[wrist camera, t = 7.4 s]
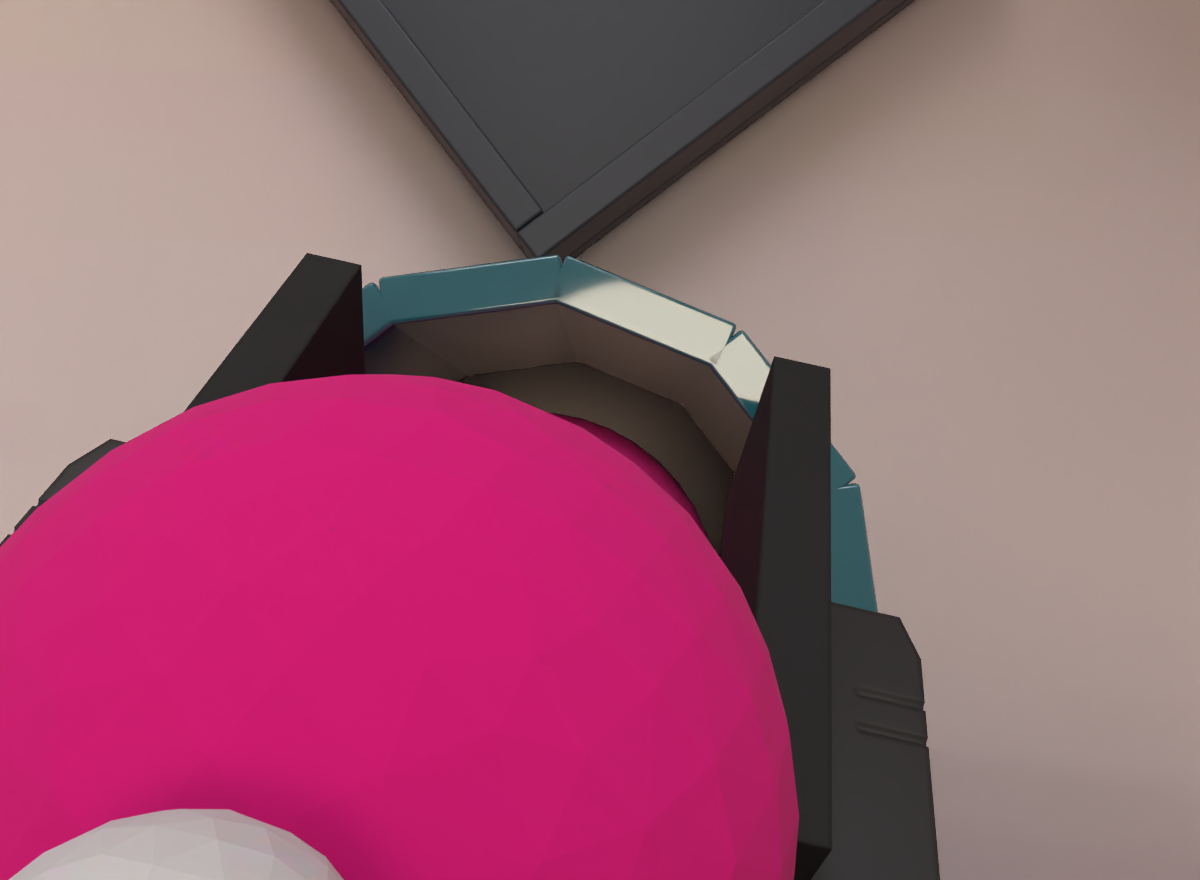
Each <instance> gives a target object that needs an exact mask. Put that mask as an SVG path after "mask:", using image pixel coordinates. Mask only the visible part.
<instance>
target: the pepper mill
mask: <svg viewBox="0 0 1200 880" xmlns="http://www.w3.org/2000/svg"><path fill="white" fill-rule="evenodd" d="M798 825H799V811H798V802H797V794H796V785H795V777H794V768H793V760H792V751H791V743H790V734H789V728H788V723H787V718H786V714H785V710H784V706H783V702H782V699H781V695H780V691H779V687H778V684H777V680H776V676H775V672H774V668H773V665H772V661H771V657H770V653H769V650H768V647H767V645H766V643H765V641H764V638H763V636H762V634H761V632H760V629H759V627H758V625H757V623H756V621H755V618H754V616H753V614H752V612H751V609H750V607H749V605H748V603H747V600H746V598H745V596H744V594H743V592H742V589H741V587H740V586H739V584H738V583H737V581H736V580H735V578H734V577H733V576H732V574H731V573H730V571H729V570H728V568H727V567H726V566H725V564H724V563H723V561H722V560H721V558H720V557H719V555H718V554H717V553H716V551H715V550H714V548H713V547H712V545H711V544H710V543H709V540H708V536H707V534H706V531H705V529H704V527H703V525H702V522H701V520H700V518H699V516H698V514H697V511H696V509H695V507H694V506H693V504H692V503H691V501H690V500H689V498H688V497H687V495H686V494H685V492H684V491H683V489H682V488H681V486H680V485H679V483H678V482H677V481H676V480H675V479H674V478H673V477H672V476H671V474H670V473H669V472H668V471H667V470H666V469H665V468H664V467H663V466H662V465H661V464H660V463H659V462H658V461H657V460H656V459H655V458H654V457H652V456H651V455H650V454H649V453H647V452H646V451H645V450H643V449H642V448H641V447H640V446H638V445H637V444H636V443H634V442H633V441H631V440H629V439H627V438H625V437H624V436H622V435H620V434H618V433H616V432H615V431H613V430H611V429H609V428H606V427H604V426H601V425H598V424H595V423H593V422H590V421H587V420H584V419H581V418H576V417H571V416H566V415H561V414H556V413H547V412H545V411H543V410H540V409H538V408H536V407H533V406H531V405H529V404H526V403H524V402H522V401H519V400H517V399H515V398H512V397H510V396H508V395H506V394H503V393H501V392H499V391H496V390H492V389H488V388H483V387H478V386H474V385H469V384H464V383H460V382H455V381H451V380H446V379H441V378H437V377H428V376H411V375H395V374H356V375H341V376H332V377H323V378H314V379H305V380H296V381H288V382H279V383H270V384H267V385H263V386H260V387H257V388H254V389H250V390H247V391H244V392H241V393H237V394H234V395H231V396H228V397H224V398H221V399H218V400H215V401H211V402H208V403H205V404H202V405H198V406H195V407H193V408H191V409H189V410H187V411H185V412H183V413H181V414H179V415H177V416H176V417H174V418H172V419H170V420H168V421H166V422H164V423H162V424H160V425H159V426H157V427H155V428H153V429H151V430H149V431H147V432H145V433H143V434H141V435H140V436H138V437H136V438H134V439H132V440H130V441H128V442H126V443H124V444H123V445H121V446H119V447H117V448H115V449H113V450H111V451H110V452H109V453H107V454H106V455H105V456H103V457H102V458H101V459H100V460H98V461H97V462H96V463H94V464H93V465H92V466H91V467H89V468H88V469H87V470H85V471H84V472H83V473H82V474H80V475H79V476H78V477H77V478H75V479H74V480H73V481H71V482H70V483H69V484H68V485H66V486H65V487H64V488H62V489H61V490H60V491H59V492H57V493H56V494H55V495H54V496H52V497H51V498H50V499H48V500H47V501H46V502H45V503H43V504H42V505H41V506H39V507H38V508H37V509H36V510H35V511H34V512H33V513H32V514H31V515H30V516H29V517H28V518H27V519H26V520H25V522H24V523H23V524H22V525H21V526H20V527H19V528H18V529H17V530H16V531H15V532H14V533H13V534H12V535H11V536H10V537H9V538H8V539H7V540H6V541H5V543H4V544H3V545H2V546H1V547H0V880H794V873H795V861H796V849H797V837H798Z"/></svg>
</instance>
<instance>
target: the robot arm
mask: <svg viewBox="0 0 1200 880" xmlns="http://www.w3.org/2000/svg"><path fill="white" fill-rule="evenodd" d="M356 374H365V355H364V328H363V300H362V272H361V265H359V264H354V263H349V262H345V261H340V260H336V259H331V258H327V257H322V256H318V255H313V254H309V253H307V254H306V255H305V256H304V258H303V259H302V260H301V262H300V263H299V264H298V265H297V267H296V268H295V269H294V271H293V272H292V273H291V275H290V276H289V277H288V278H287V280H286V281H285V282H284V284H283V285H282V286H281V287H280V289H279V290H278V291H277V293H276V294H275V295H274V296H273V298H272V299H271V300H270V302H269V303H268V304H267V305H266V307H265V308H264V309H263V311H262V312H261V313H260V315H259V316H258V317H257V318H256V320H255V321H254V322H253V324H252V325H251V326H250V327H249V329H248V330H247V331H246V333H245V334H244V335H243V336H242V338H241V339H240V340H239V342H238V343H237V344H236V345H235V347H234V348H233V349H232V351H231V352H230V353H229V355H228V356H227V357H226V358H225V360H224V361H223V362H222V364H221V365H220V366H219V367H218V369H217V370H216V371H215V373H214V374H213V375H212V376H211V378H210V379H209V380H208V382H207V383H206V384H205V385H204V387H203V388H202V389H201V391H200V392H199V393H198V394H197V396H196V397H195V398H194V400H193V401H192V402H191V404H190V405H189V406H188V407H187V409H186V410H185V411H187V410H189V409H191V408H193V407H195V406H198V405H202V404H205V403H208V402H211V401H215V400H218V399H221V398H224V397H228V396H231V395H234V394H237V393H241V392H244V391H247V390H250V389H254V388H257V387H260V386H263V385H267V384H270V383H279V382H288V381H296V380H305V379H314V378H323V377H332V376H341V375H356ZM185 411H184V412H185ZM124 443H126V442H121V441H117V440H113V439H110V440H108V441H107V442H105V443H103V444H102V445H100V446H98V447H97V448H95V449H93V450H92V451H90V452H89V453H87V454H85V455H84V456H82V457H80V458H79V459H77V460H75V461H74V462H72V463H71V464H69V465H68V466H67V467H66V468H65V469H64V470H63V471H62V473H61V474H60V475H59V476H58V477H57V478H56V480H55V481H54V482H53V483H52V484H51V485H50V487H49V488H48V489H47V490H46V491H45V492H44V494H43V495H42V496H41V497H40V498H39V503H38V505H37V506H36V507H35V506H32V507H31V509H30V510H29V511H28V512H27V513H26V514H25V516H24V517H23V518H22V519H21V520H20V521H19V523H18V524H17V525H16V526H15V530H14V532H15V531H16V530H17V529H18V528H19V527H20V526H21V525H22V524H23V523H24V522H25V520H26V519H27V518H28V517H29V516H30V515H31V514H32V513H33V512H34V511H35V510H36V509H37V508H38V507H39V506H41V505H42V504H43V503H45V502H46V501H47V500H48V499H50V498H51V497H52V496H54V495H55V494H56V493H57V492H59V491H60V490H61V489H62V488H64V487H65V486H66V485H68V484H69V483H70V482H71V481H73V480H74V479H75V478H77V477H78V476H79V475H80V474H82V473H83V472H84V471H85V470H87V469H88V468H89V467H91V466H92V465H93V464H94V463H96V462H97V461H98V460H100V459H101V458H102V457H103V456H105V455H106V454H107V453H109V452H110V451H111V450H113V449H115V448H117V447H119V446H121V445H123V444H124ZM10 536H11V535H9V534H8V535H7V537H6V538H5V539H4V540H3V541H2V542H1V544H0V547H1V546H2V545H3V544H4V543H5V541H6V540H7V539H8V538H9V537H10ZM721 560H722V561H723V563H724V564H725V566H726V567H727V568H728V570H729V571H730V573H731V574H732V576H733V577H734V578H735V580H736V581H737V583H738V584H739V586H740V587H741V589H742V592H743V594H744V596H745V598H746V600H747V603H748V605H749V607H750V609H751V612H752V614H753V616H754V618H755V621H756V623H757V625H758V627H759V629H760V632H761V634H762V636H763V638H764V641H765V643H766V645H767V647H768V650H769V653H770V657H771V661H772V665H773V668H774V672H775V676H776V680H777V684H778V687H779V691H780V695H781V699H782V702H783V706H784V710H785V714H786V718H787V723H788V728H789V734H790V743H791V751H792V760H793V768H794V777H795V785H796V794H797V802H798V811H799V825H798V837H797V849H796V861H795V873H794V880H940V874H939V863H938V851H937V840H936V828H935V817H934V805H933V794H932V782H931V771H930V759H929V748H928V747H926V741H927V739H928V736H927V725H926V713H925V711H923V706H924V703H925V702H924V690H923V679H922V667H921V659H920V657H919V655H918V653H917V651H916V649H915V647H914V645H913V643H912V641H911V639H910V637H909V635H908V633H907V631H906V629H905V627H904V625H903V623H902V621H901V620H900V618H899V617H895V616H890V615H886V614H882V613H877V612H873V611H868V610H864V609H860V608H855V607H851V606H847V605H842V604H838V603H834V602H831V412H830V369H829V368H825V367H820V366H816V365H811V364H807V363H802V362H798V361H793V360H789V359H784V358H779V357H775V356H774V359H773V362H772V365H771V368H770V371H769V374H768V377H767V379H766V382H765V385H764V388H763V391H762V394H761V397H760V400H759V403H758V406H757V409H756V412H755V415H754V418H753V421H752V424H751V427H750V430H749V433H748V436H747V439H746V442H745V445H744V448H743V451H742V454H741V457H740V460H739V463H738V466H737V469H736V472H735V475H734V478H733V481H732V484H731V487H730V489H729V492H728V495H727V503H726V512H725V521H724V530H723V540H722V549H721Z"/></svg>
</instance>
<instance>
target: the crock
mask: <svg viewBox="0 0 1200 880" xmlns="http://www.w3.org/2000/svg"><path fill="white" fill-rule="evenodd" d="M362 300H363V328H364V355H365V374H395V375H411V376H428V377H437V378H441V379H446V380H451V381H455V382H459V381H461V380H462V379H463V378H465V377H466V376H467V375H475V374H482V373H490V372H498V371H506V370H513V369H521V368H529V367H537V366H544V365H552V364H560V363H567V362H575V361H579V362H581V363H584V364H586V365H588V366H591V367H593V368H596V369H598V370H600V371H603V372H605V373H608V374H610V375H612V376H615V377H617V378H620V379H622V380H625V381H627V382H629V383H632V384H634V385H637V386H639V387H641V388H644V389H646V390H649V391H651V392H653V393H656V394H658V395H661V396H663V397H665V398H668V399H670V400H673V401H675V402H677V403H680V404H682V405H683V407H684V408H685V409H686V411H687V412H688V413H689V415H690V416H691V417H692V418H693V420H694V421H695V422H696V424H697V425H698V426H699V428H700V429H701V430H702V431H703V433H704V434H705V435H706V437H707V438H708V439H709V441H710V442H711V443H712V444H713V446H714V447H715V448H716V450H717V451H718V452H719V454H720V455H721V456H722V458H723V459H724V460H725V461H726V463H727V464H728V465H729V467H730V468H731V469H732V471H733V472H734V473H735V472H736V469H737V466H738V463H739V460H740V457H741V454H742V451H743V448H744V445H745V442H746V439H747V436H748V433H749V430H750V427H751V424H752V421H753V418H754V415H755V412H756V409H757V406H758V403H759V400H760V397H761V394H762V391H763V388H764V385H765V382H766V379H767V377H768V374H769V371H770V368H771V365H770V364H769V362H768V361H767V360H766V358H765V357H764V356H763V355H762V353H761V352H760V351H759V349H758V348H757V347H756V346H755V344H754V343H753V342H752V340H751V339H750V338H749V336H748V335H747V334H746V333H745V332H744V331H743V330H742V331H739V332H738V333H736V334H735V335H734V336H733V334H734V332H735V329H736V325H735V324H734V323H732V322H729V321H727V320H724V319H722V318H720V317H717V316H715V315H712V314H710V313H707V312H705V311H703V310H700V309H698V308H695V307H693V306H690V305H688V304H686V303H683V302H681V301H678V300H676V299H673V298H671V297H668V296H666V295H664V294H661V293H659V292H656V291H654V290H651V289H649V288H647V287H644V286H642V285H639V284H637V283H634V282H632V281H629V280H627V279H625V278H622V277H620V276H617V275H615V274H612V273H610V272H608V271H605V270H603V269H600V268H598V267H595V266H593V265H591V264H588V263H586V262H583V261H581V260H578V259H576V258H573V257H571V256H567V257H566V258H565V259H564V262H563V264H562V261H561V258H560V256H559V255H549V256H541V257H534V258H526V259H519V260H511V261H503V262H496V263H488V264H481V265H473V266H465V267H458V268H450V269H443V270H435V271H427V272H420V273H412V274H405V275H397V276H389V277H383V278H381V279H380V280H379V287H378V286H377V285H376V284H374V283H369V284H367V285H366V286H365V287H363V288H362ZM855 477H856V476H855V473H854V472H853V470H852V469H851V468H850V467H849V465H848V464H847V463H846V461H845V460H844V459H843V458H842V456H841V455H840V454H839V452H838V451H837V450H836V449H835V447H834V446H833V445H832V443H831V602H834V603H838V604H842V605H847V606H851V607H855V608H860V609H864V610H868V611H873V612H877V613H878V610H877V603H876V595H875V588H874V581H873V574H872V567H871V560H870V552H869V545H868V538H867V531H866V524H865V517H864V510H863V502H862V495H861V488H860V486H859V484H856V483H850V482H851V481H852V480H854V479H855Z"/></svg>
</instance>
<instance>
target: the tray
mask: <svg viewBox="0 0 1200 880" xmlns="http://www.w3.org/2000/svg"><path fill="white" fill-rule="evenodd" d="M330 1H331V2H332V3H333V5H334V6H335V7H336V9H337V10H338V11H339V12H340V14H341V15H342V16H343V18H344V19H345V20H346V22H347V23H348V24H349V26H350V27H351V28H352V29H353V31H354V32H355V33H356V35H357V36H358V37H359V39H360V40H361V41H362V43H363V44H364V45H365V46H366V48H367V49H368V50H369V52H370V53H371V54H372V56H373V57H374V58H375V59H376V61H377V62H378V63H379V65H380V66H381V67H382V69H383V70H384V71H385V73H386V74H387V75H388V76H389V78H390V79H391V80H392V82H393V83H394V84H395V86H396V87H397V88H398V90H399V91H400V92H401V93H402V95H403V96H404V97H405V99H406V100H407V101H408V103H409V104H410V105H411V107H412V108H413V109H414V110H415V112H416V113H417V114H418V116H419V117H420V118H421V120H422V121H423V122H424V124H425V125H426V126H427V127H428V129H429V130H430V131H431V133H432V134H433V135H434V137H435V138H436V139H437V140H438V142H439V143H440V144H441V146H442V147H443V148H444V150H445V151H446V152H447V154H448V155H449V156H450V157H451V159H452V160H453V161H454V163H455V164H456V165H457V167H458V168H459V169H460V171H461V172H462V173H463V174H464V176H465V177H466V178H467V180H468V181H469V182H470V184H471V185H472V186H473V188H474V189H475V190H476V191H477V193H478V194H479V195H480V197H481V198H482V199H483V201H484V202H485V203H486V205H487V206H488V207H489V208H490V210H491V211H492V212H493V214H494V215H495V216H496V218H497V219H498V220H499V221H500V223H501V224H502V225H503V227H504V228H505V229H506V231H507V232H508V233H509V235H510V236H511V237H512V238H513V240H514V241H515V242H516V244H517V245H518V246H519V248H520V249H521V250H522V252H523V253H524V254H525V255H526V257H527V258H534V257H541V256H549V255H559V256H560V258H561V261H562V264H563V262H564V259H565V258H566V257H567V256H571V257H573V258H575V257H576V256H578V255H579V254H580V253H582V252H583V251H584V250H586V249H587V248H588V247H590V246H591V245H592V244H594V243H595V242H596V241H597V240H599V239H600V238H601V237H603V236H604V235H605V234H607V233H608V232H609V231H611V230H612V229H613V228H615V227H616V226H617V225H619V224H620V223H621V222H623V221H624V220H625V219H626V218H628V217H629V216H630V215H632V214H633V213H634V212H636V211H637V210H638V209H640V208H641V207H642V206H644V205H645V204H646V203H648V202H649V201H650V200H652V199H653V198H654V197H655V196H657V195H658V194H659V193H661V192H662V191H663V190H665V189H666V188H667V187H669V186H670V185H671V184H673V183H674V182H675V181H677V180H678V179H679V178H681V177H682V176H683V175H684V174H686V173H687V172H688V171H690V170H691V169H692V168H694V167H695V166H696V165H698V164H699V163H700V162H702V161H703V160H704V159H706V158H707V157H708V156H710V155H711V154H712V153H714V152H715V151H716V150H717V149H719V148H720V147H721V146H723V145H724V144H725V143H727V142H728V141H729V140H731V139H732V138H733V137H735V136H736V135H737V134H739V133H740V132H741V131H743V130H744V129H745V128H746V127H748V126H749V125H750V124H752V123H753V122H754V121H756V120H757V119H758V118H760V117H761V116H762V115H764V114H765V113H766V112H768V111H769V110H770V109H772V108H773V107H774V106H775V105H777V104H778V103H779V102H781V101H782V100H783V99H785V98H786V97H787V96H789V95H790V94H791V93H793V92H794V91H795V90H797V89H798V88H799V87H801V86H802V85H803V84H804V83H806V82H807V81H808V80H810V79H811V78H812V77H814V76H815V75H816V74H818V73H819V72H820V71H822V70H823V69H824V68H826V67H827V66H828V65H830V64H831V63H832V62H834V61H835V60H836V59H837V58H839V57H840V56H841V55H843V54H844V53H845V52H847V51H848V50H849V49H851V48H852V47H853V46H855V45H856V44H857V43H859V42H860V41H861V40H863V39H864V38H865V37H866V36H868V35H869V34H870V33H872V32H873V31H874V30H876V29H877V28H878V27H880V26H881V25H882V24H884V23H885V22H886V21H888V20H889V19H890V18H892V17H893V16H894V15H895V14H897V13H898V12H899V11H901V10H902V9H903V8H905V7H906V6H907V5H909V4H910V3H911V2H913V1H914V0H330Z"/></svg>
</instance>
